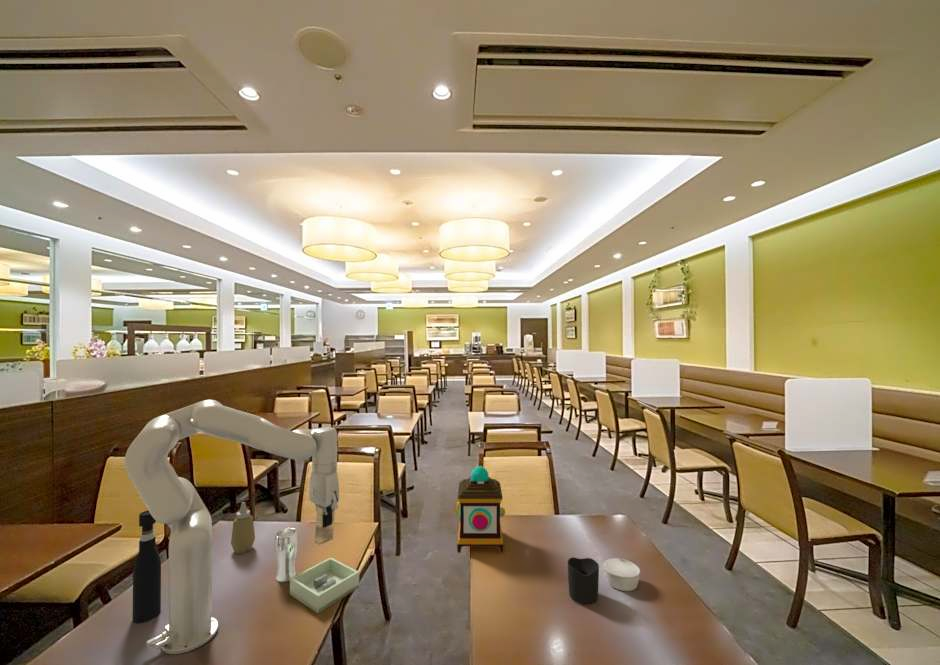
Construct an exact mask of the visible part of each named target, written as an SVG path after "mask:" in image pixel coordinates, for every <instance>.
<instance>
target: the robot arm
mask: <svg viewBox="0 0 940 665" xmlns="http://www.w3.org/2000/svg"><path fill="white" fill-rule="evenodd" d="M198 433H201V434H203V435H206V436H207V435H208V436H212V437H215V438H218V439H223V440H227V441H231V442H235V443H239V444H242V445H246V446H248V447H251V448H254V449H257V450H260V451H263V452H266V453H269V454H273V455H275V456H279V457H282V458H287V459H291V460H296V461H305V460H308V459H310V458H311V457H312V458H311V459H312V460H311V472H310V478H309V485H308V486H309V489H308V490H309V491H308V499H309V501H310V502H311V503H313V504H315V509H316V510H315V511H316V512H317V507H318V506H323V507H324V515H323V527H324V528H325V527H327V526H329V525H331V524H332V512H333V511H334V510H335V511H336V510H337V509H339V505H338V503H339V500H340V485H339V484H340V483H339V482H340V481H339V476H338V432H337V429H336V428H334V427H330V426H329V427H326V426H324V427H318V428H313V429H312V428H311V429H310V428H309V429H307V428H306V429H303V428H299V429H298V428H297V429H294V430H289V429H287V428H284V427H281V426H278V425H276V424H274V423H272V422H270V421H269V420H267V419H266V418H263V417H261V416H260V415H256V414H253V413H249V412H245V411H243V410H238V409H236V408H232V407H229V406H227V405H223V404H222V403H221V402H220V401H217V400H216V399H205V400H201V401H198V402H196V403H193V404H190V405H187V406H184V407H182V408H180V409H179V408H178V409H176V410H173V411H170V412H168V413H165V414H162V415H158V416H157V417H154V418H152V419H151V420H149V421H148V422H147V423H146V425H145V426H144V427H143V428H142V430H141V431H140V432H139V434H138V435H136V437H135V438H134V439H133V441H132V442H131V443H130V445H129V447H128V448H127V450H126V453H125V456H124V468H125V472H126V474H127V476H128V478H129V480H130V482H131V484H132V485H133V486H134V488H135V489H136V491H137V493H138V495H139V497H140V498H141V501H143V503H144V504H145V506H146V508H147V509H148V510H149V512H150V514H151V516H152V517H153V518H154V519H155V520H156V523H160V524H163V525H167V526H168V528H169V530H170V535H169V540H168V587H169V588H168V600H169V601H168V624H167V625H165V626H164V631H163V632H162V631H161V633H160V634H159V635H157V636H155V637H154V636H153V637H152V638H150V639H148V640H145V647H146V649H147V650H149V649H151V648H154V647H155V650H156V651H157V650H160V649H161V650H162V652H163V653H166V654H168V655H169V654H170V655H178V654H184V653H188V652H191V651H193V650H197V648H200V647H201V646H203V645H205V644H207V643H208V642H209V641H210V640H211V639H212V638H213V637H214V636H215V635H216V633H217V632H218V629H219V622H218V620H217V619H216V618H214V617H213V616H212V614H213V612H212V607H213V606H212V605H213V604H212V601H213V600H212V599H213V598H212V596H213V594H212V593H213V590H212V589H213V588H212V587H213V586H212V585H213V582H212V580H213V577H212V576H213V570H212V569H213V567H212V566H213V525H212V524H213V522H212V516H211V513H210V512H209V510H208V507H206V505H205V503H204V502H203V499H202V498H201V496H200V495H199V493H198V492H197V489H196V488H195V487H194V485H193V484H192V482H191V481H190V480H188V479H187V478H185V477H182V476H181V477H180V476H179V475H178V474H177V473H176V471H175V468H174V467H173V465H172V464H171V463H170V461H169V459H168V455H169V453H170V451H171V450H173V448H175V446H176V444H177V443H178V442H179V441H180V440H183V439H185V438H188V437H191V436H193V435H195V434H198ZM328 506H330V507H329V508H328ZM148 510H147V511H148Z"/></svg>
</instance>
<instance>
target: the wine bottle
mask: <svg viewBox="0 0 940 665" xmlns="http://www.w3.org/2000/svg"><path fill="white" fill-rule="evenodd" d="M156 523H157V521H156V520H155V519H154V518H153V517H152V516H151V514H150V512H149V510H145V511H141V512H140V513H139V515H138V526H139V527H141V533H140V538H139V541H138V552H137V555H136V558H135V560H134V565H133V569H132V623H134V624H143V623H144V624H145V623H147V622H150V621H152V620H154V619H155V618H157V617H158V616H159V615H160V613H161V611H162V610H161V609H162V606H161V605H162V560H161V555H160V553H159V550H158V549H157V547H156V546H157V545H156V543H157V542H156V533H155V530H154V524H156Z"/></svg>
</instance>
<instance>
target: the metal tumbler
mask: <svg viewBox="0 0 940 665" xmlns="http://www.w3.org/2000/svg"><path fill="white" fill-rule="evenodd" d="M297 531H298V530H297V528H294V527H287V528H283V529H280V530H278V531H276V533H275V538H274V540H275V541H274V555H275V559H276V566H277V571H276V578H275V580H276V582H279V583H285V582H290V578H292V577H294V576H296V575H297V574H296V573H297V572H296V568H295V565H296V564H295V562H296V557H297V550H298V534H297V533H298V532H297Z"/></svg>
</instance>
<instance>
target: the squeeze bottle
mask: <svg viewBox="0 0 940 665" xmlns="http://www.w3.org/2000/svg"><path fill="white" fill-rule="evenodd" d="M235 515H236V516H235V517H236V518H234V520H233V524H232V531H231V540H230V544H231V547H232V550H233V552H234V553H235V554H244V553H247V552H249V551H250V550H252V548H253V545H254V543H255V541H256V540H255V539H256V535H255V532H256V531H255V526H254V525H255V524H254V517H253V515H251V510H250V509H247V504H246V502H245V501H243V502H241V504H240V509H239V511H237V512H236V514H235Z"/></svg>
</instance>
